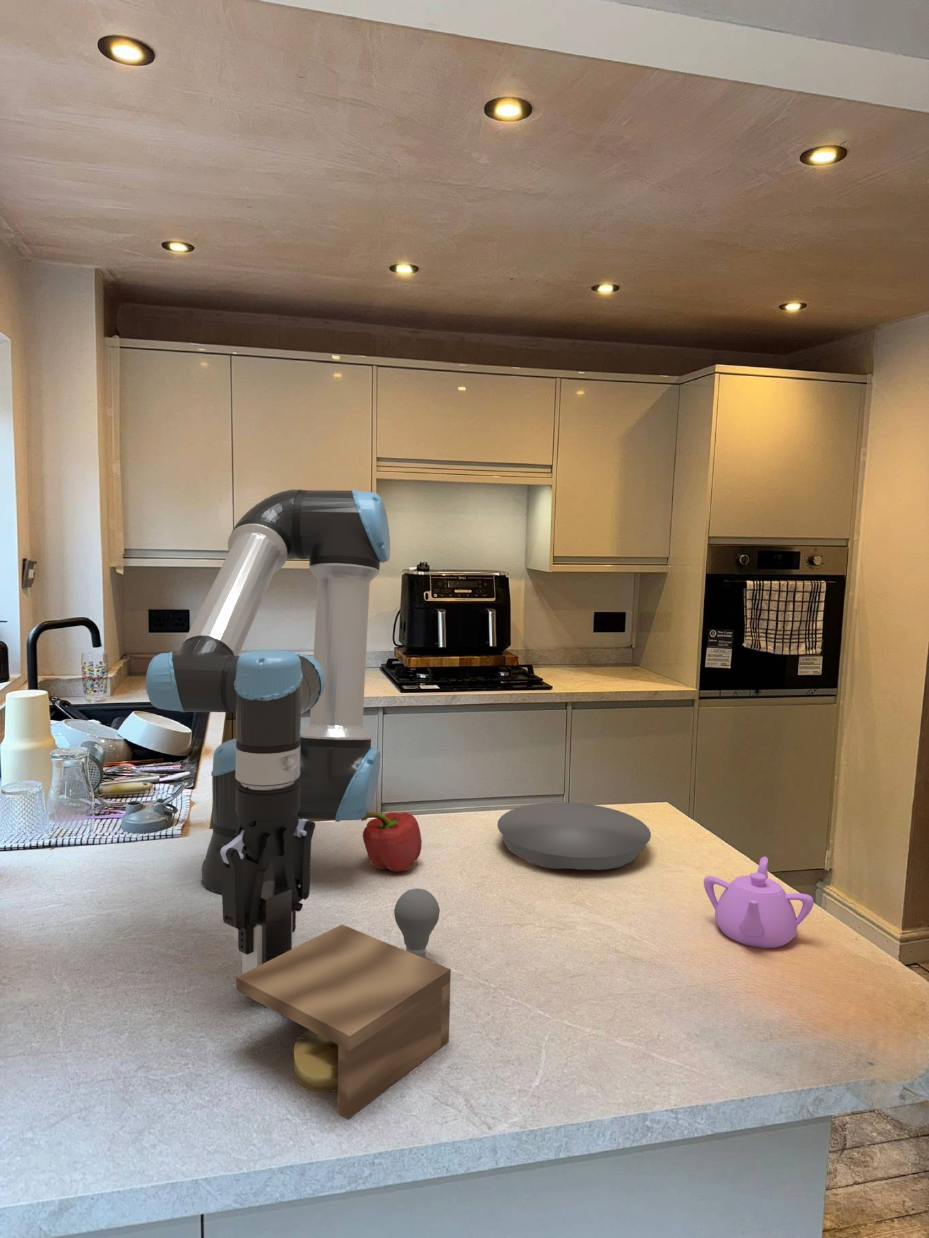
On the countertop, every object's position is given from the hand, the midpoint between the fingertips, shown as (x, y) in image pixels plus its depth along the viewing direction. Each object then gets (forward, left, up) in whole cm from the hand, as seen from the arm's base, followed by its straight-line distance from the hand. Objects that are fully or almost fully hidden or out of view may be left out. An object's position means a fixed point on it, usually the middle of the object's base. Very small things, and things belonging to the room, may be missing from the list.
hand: (267, 967), depth 101 cm
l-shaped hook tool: (+9, 0, -2) cm, 9 cm away
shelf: (+15, -1, -4) cm, 15 cm away
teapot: (+42, +56, -4) cm, 70 cm away
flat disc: (+5, +68, -4) cm, 68 cm away
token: (+16, -5, -4) cm, 17 cm away
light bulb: (+9, +18, -4) cm, 20 cm away
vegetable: (-15, +40, -4) cm, 42 cm away
